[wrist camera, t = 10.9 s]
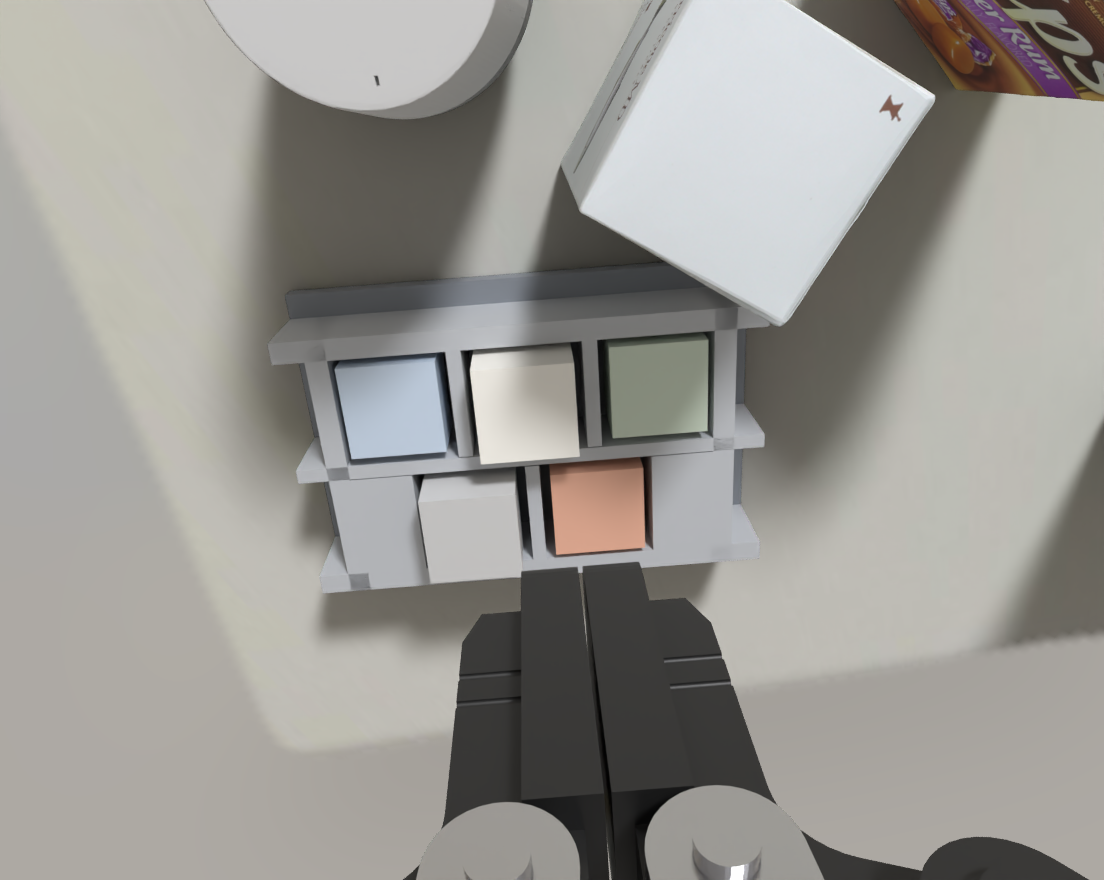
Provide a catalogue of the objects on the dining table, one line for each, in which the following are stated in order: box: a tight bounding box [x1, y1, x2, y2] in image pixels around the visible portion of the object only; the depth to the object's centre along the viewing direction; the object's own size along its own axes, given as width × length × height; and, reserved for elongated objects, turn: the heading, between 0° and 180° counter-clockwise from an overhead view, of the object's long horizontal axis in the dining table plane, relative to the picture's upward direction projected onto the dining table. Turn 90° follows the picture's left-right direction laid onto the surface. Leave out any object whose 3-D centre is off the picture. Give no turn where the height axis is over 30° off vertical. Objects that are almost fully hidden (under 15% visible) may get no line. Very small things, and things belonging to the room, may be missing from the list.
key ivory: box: [470, 342, 580, 464], centre depth 33 cm, size 4×4×3 cm
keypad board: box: [267, 262, 770, 593], centre depth 36 cm, size 20×14×4 cm
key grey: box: [418, 467, 523, 584], centre depth 35 cm, size 4×4×3 cm
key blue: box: [335, 352, 452, 459], centre depth 35 cm, size 4×4×3 cm
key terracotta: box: [549, 457, 645, 555], centre depth 37 cm, size 4×4×3 cm
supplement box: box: [561, 0, 935, 326], centre depth 28 cm, size 7×7×13 cm
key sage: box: [603, 332, 708, 438], centre depth 35 cm, size 4×4×3 cm
